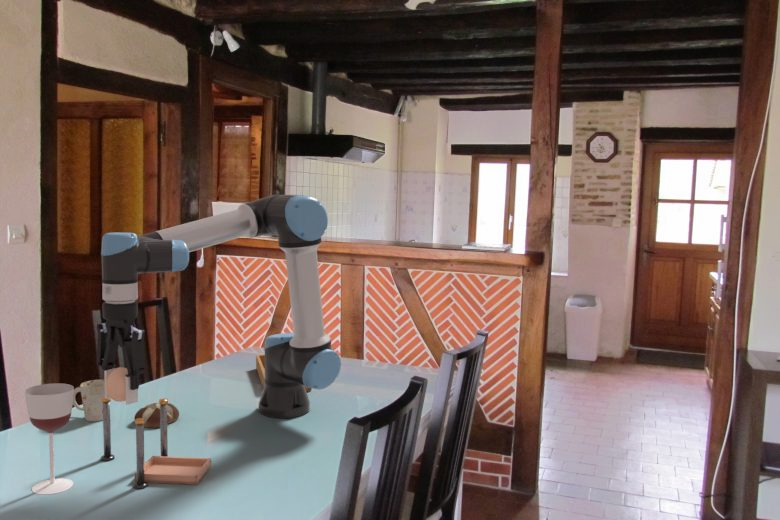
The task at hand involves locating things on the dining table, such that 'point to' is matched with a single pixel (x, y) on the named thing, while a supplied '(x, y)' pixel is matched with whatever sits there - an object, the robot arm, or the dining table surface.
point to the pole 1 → (106, 430)
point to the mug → (91, 399)
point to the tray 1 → (175, 470)
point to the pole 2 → (140, 454)
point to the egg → (117, 384)
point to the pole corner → (163, 427)
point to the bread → (156, 414)
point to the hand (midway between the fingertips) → (121, 399)
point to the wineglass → (50, 424)
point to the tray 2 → (261, 370)
